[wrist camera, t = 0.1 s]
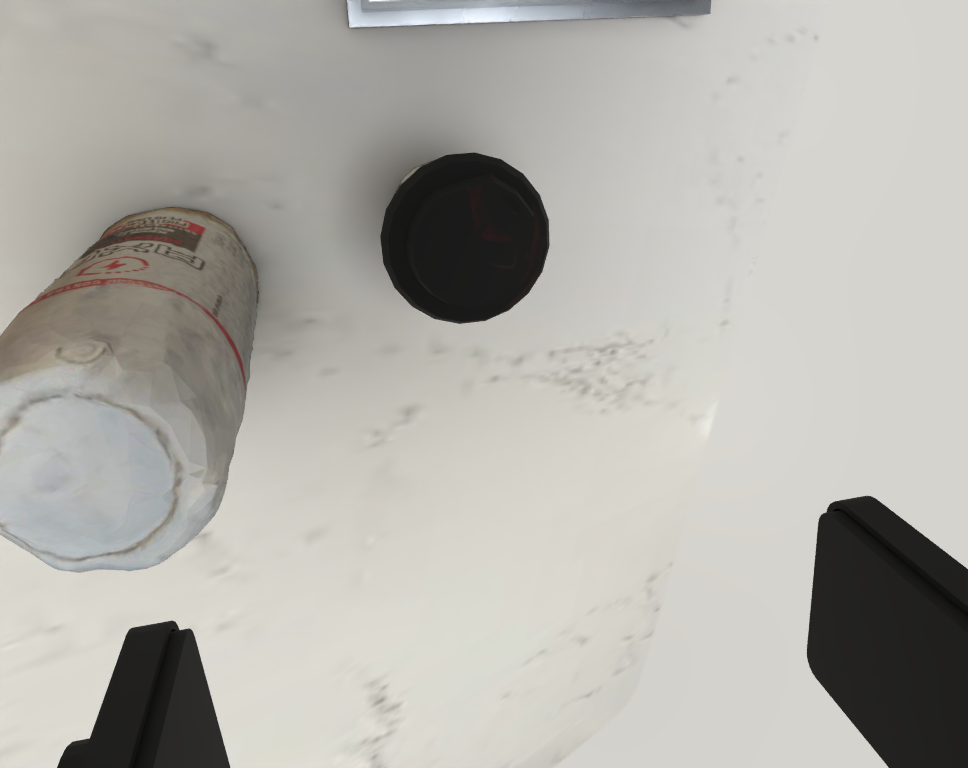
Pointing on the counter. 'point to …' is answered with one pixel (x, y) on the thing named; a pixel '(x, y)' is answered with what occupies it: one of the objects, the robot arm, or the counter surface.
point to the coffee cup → (465, 237)
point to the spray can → (127, 394)
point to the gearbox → (509, 11)
